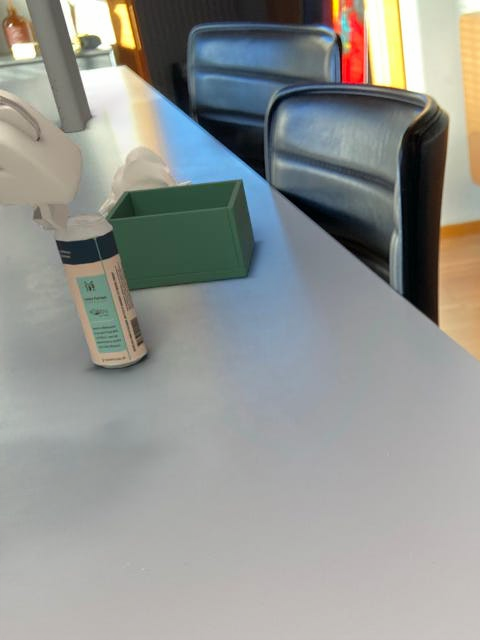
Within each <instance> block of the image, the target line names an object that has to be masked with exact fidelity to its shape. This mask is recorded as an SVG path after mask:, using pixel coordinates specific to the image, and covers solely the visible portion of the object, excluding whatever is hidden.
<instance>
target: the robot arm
mask: <svg viewBox="0 0 480 640" xmlns="http://www.w3.org/2000/svg"><path fill="white" fill-rule="evenodd" d="M82 171H83V154H82V150H81V149H80V147H79V146H78V145H77V143H75V141H74V140H72V138H70V137H69V136H68V135H67V134H66V132H64V131H63V130H61V128H59V127H58V126H57V124H55V123H53V121H51V120H50V119H49V118H47V117H46V116H45V115H44V114H43V113H41V111H39V110H38V109H37V108H35V107H34V106H33V105H31V104H30V103H29V102H28V101H26V100H25V99H22V98H21V97H20V96H18V95H16V94H14V93H12V92H10V91H8V90H6V89H5V90H4V89H1V88H0V207H5V206H6V207H7V206H8V207H9V206H29V207H31V208H35V209H34V210H33V216H32V220H33V221H34V222H35V223H36V224H37V225H39V226H41V227H42V229H43V230H44V231H54V230H65V229H66V228H67V222H68V216H70V215H69V214H70V213H69V209H68V207H67V205H68V204H71V203H73V202H74V201H75V199H76V198H77V195H78V191H79V188H80V185H81V184H80V183H81V178H82V173H83V172H82Z"/></svg>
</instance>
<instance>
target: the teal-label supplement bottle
mask: <svg viewBox="0 0 480 640" xmlns="http://www.w3.org/2000/svg"><path fill="white" fill-rule="evenodd" d="M105 217H106V216H105V215H104V216H103V215H102V214H100V212H87V213H77V214H73V215H68V222H67V228H66V229H65V230H53V235H52V238H53V240H54V241H55V244H56V247H57V251H58V254H59V257H60V260H61V264H62V266H63V270H64V272H65V276H66V279H67V282H68V286H69V289H70V292H71V295H72V298H73V302H74V304H75V308H76V311H77V314H78V317H79V320H80V321H79V322H80V324H81V326H82V331H83V333H84V336H85V340H86V342H87V346H88V350H89V353H90V355H91V361H92V363H93V364H94V365H97V366H100V367H102V368H105V369H120V368H121V369H122V368H127V367H129V366H132V365H135V364H137V363H139V362H140V361H141V360H142V358H143V357H144V356H145V355H147V352H148V349H147V347H146V345H145V341H144V338H143V335H142V331H141V327H140V324H139V320H138V316H137V313H136V309H135V306H134V301H133V298H132V295H131V292H130V291H131V290H129V288H128V284H127V281H126V277H125V274H124V270H123V266H122V263H121V259H120V256H119V252H118V249H117V245H116V241H115V238H114V234H113V231H112V230H113V227H112V225H110V224H109V223H108V221H107V220H106V219H105Z"/></svg>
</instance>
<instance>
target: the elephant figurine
mask: <svg viewBox="0 0 480 640" xmlns="http://www.w3.org/2000/svg"><path fill="white" fill-rule="evenodd" d="M191 184H192V181H191V180H188V181H183V182H180V183H178V181H177V180H176V179H175V178H174V177H173V176H172V175H171V174H170V169H169V167H168V166H167V165H166V163H165V162H164V160H163V159H162V157H161V156H160V155H159V154H158V153H157V152H156V151H154V150H153V149H151V148H150V147H147V146H145V145H139V146H137V147H135V148H133V149H131V150H130V151H129V152H128V153H127V155H126V157H125V162H124V165H121V166H120V167H119V168H118V169H117V170H116V171H115V174H114V177H113V180H112V185H111V191H110V195H108V197H107V199H106V200H105V201H104V203H103V204H102V205H101V206H100V207H99V209H98V212H97V213H99V214H102V215H103V216H104V217H105V216H106V214H108V213H109V212H110V211H111V209H112V208H113V207H114V205H115V204H116V202H117V201H118V200H119V198H120V197H121V196H122V194H123V193H124V192H125V191H134V190H144V189H153V188H163V187H172V186H181V185H191Z"/></svg>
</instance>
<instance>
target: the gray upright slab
mask: <svg viewBox="0 0 480 640" xmlns="http://www.w3.org/2000/svg"><path fill="white" fill-rule="evenodd" d="M25 3H26V7H27V10H28V14H29V17H30V21H31V24H32V27H33V32H34V34H35V38H36V41H37V45H38V48H39V51H40V54H41V55H40V56H41V58H42V61H43V62H42V63H43V65H44V69H45V72H46V77H47V79H48V83H49V86H50V89H51V92H52V96H53V99H54V104H55V106H56V109H57V113H58V116H59V119H60V124H61V127H62V131H63V132H64V133H75V132H81V131H84V130H85V124H86V123H87V122H88V121H89V120H90V119H91V118H92V117H93V116H92V112H91V109H90V105H89V102H88V97H87V94H86V91H85V87H84V84H83V83H84V82H83V80H82V76H81V72H80V68H79V65H78V61H77V58H76V54H75V51H74V47H73V43H72V40H71V35H70V33H69V32H70V31H69V28H68V25H67V22H66V21H67V20H66V17H65V14H64V10H63V7H62V4H61V0H25Z"/></svg>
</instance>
